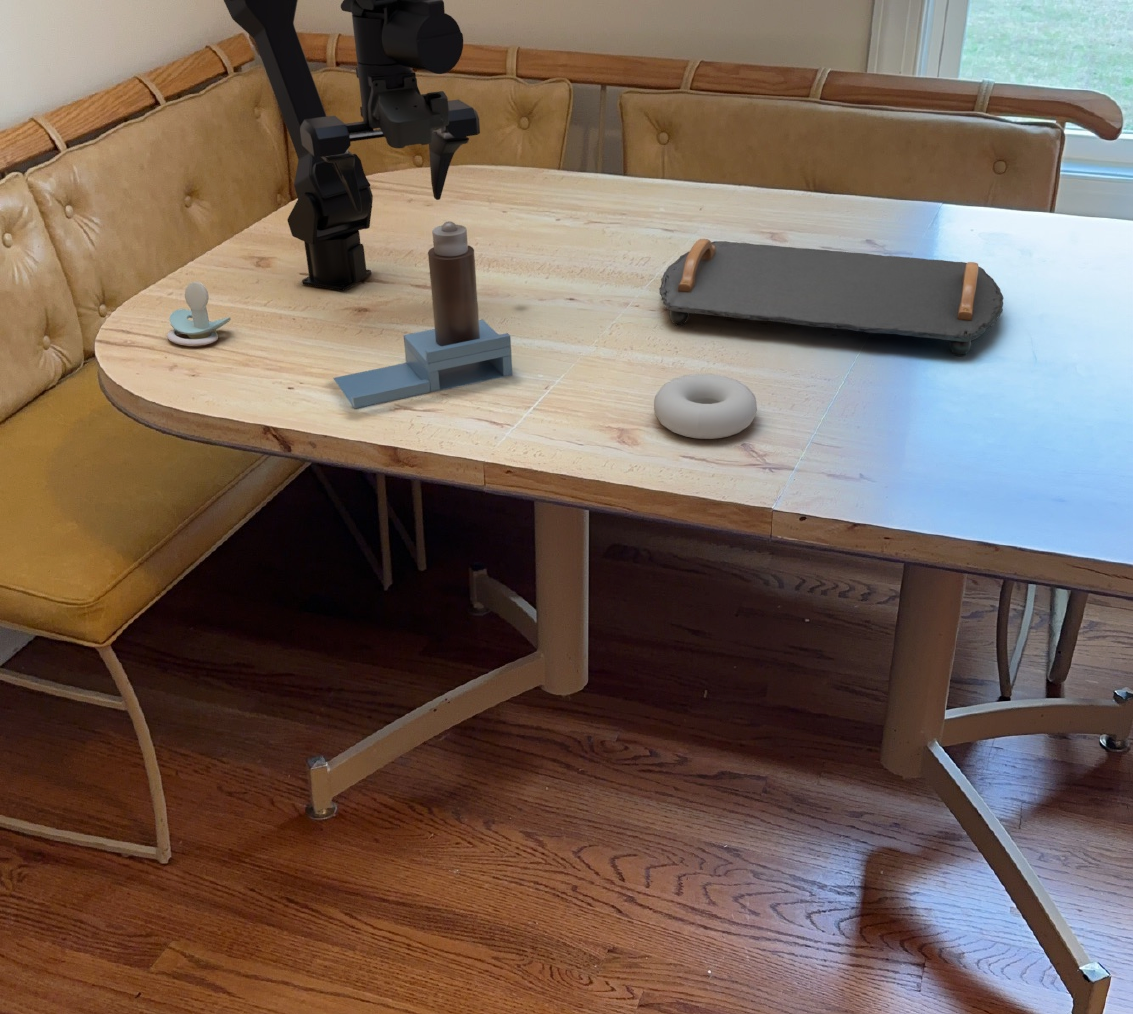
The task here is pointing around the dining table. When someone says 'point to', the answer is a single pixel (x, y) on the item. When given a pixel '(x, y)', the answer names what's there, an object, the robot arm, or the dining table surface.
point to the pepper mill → (453, 285)
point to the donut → (705, 406)
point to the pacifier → (194, 319)
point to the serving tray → (834, 290)
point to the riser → (431, 368)
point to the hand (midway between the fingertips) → (398, 205)
